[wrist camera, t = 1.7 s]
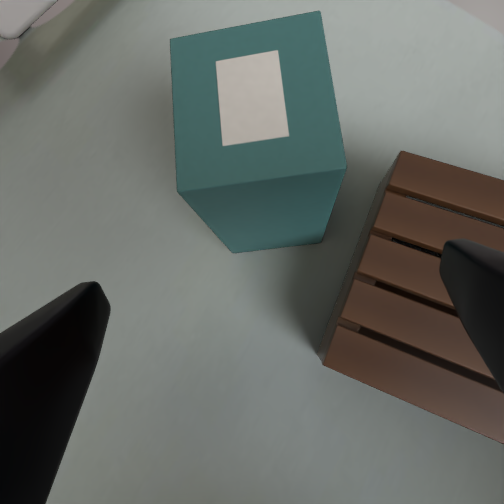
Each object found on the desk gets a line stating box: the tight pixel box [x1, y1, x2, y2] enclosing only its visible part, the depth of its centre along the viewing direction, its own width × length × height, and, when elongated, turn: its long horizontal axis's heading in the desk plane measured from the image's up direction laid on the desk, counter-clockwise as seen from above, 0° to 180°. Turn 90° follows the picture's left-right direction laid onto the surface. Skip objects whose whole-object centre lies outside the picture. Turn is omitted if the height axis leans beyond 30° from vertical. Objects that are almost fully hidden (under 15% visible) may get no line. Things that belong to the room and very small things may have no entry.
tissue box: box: [170, 11, 347, 253], centre depth 17 cm, size 7×6×11 cm
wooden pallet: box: [317, 151, 504, 444], centre depth 17 cm, size 12×16×4 cm
